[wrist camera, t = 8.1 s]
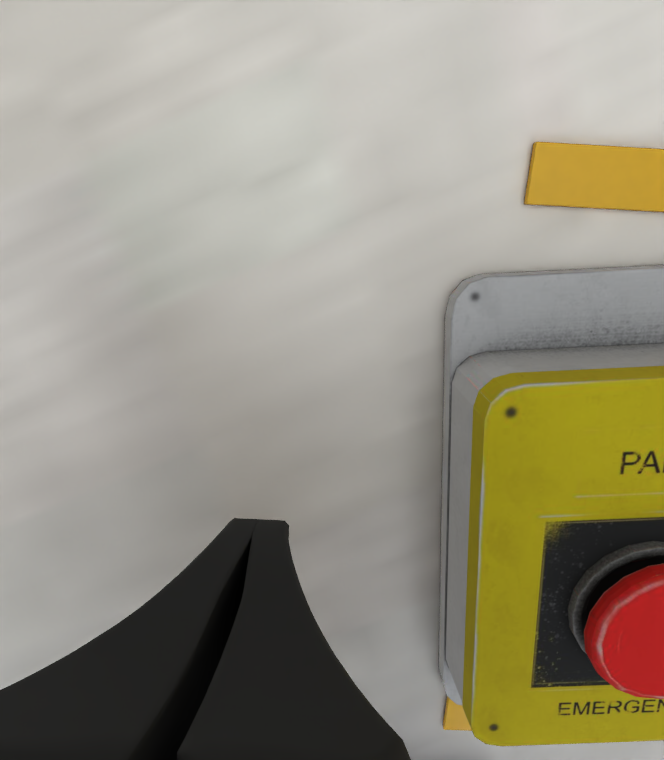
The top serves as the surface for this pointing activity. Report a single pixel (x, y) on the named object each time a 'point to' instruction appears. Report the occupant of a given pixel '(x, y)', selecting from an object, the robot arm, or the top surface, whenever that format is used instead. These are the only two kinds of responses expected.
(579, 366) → the emergency button
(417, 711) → the top surface
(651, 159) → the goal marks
